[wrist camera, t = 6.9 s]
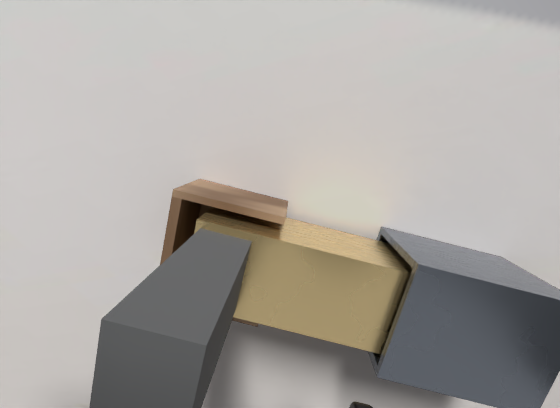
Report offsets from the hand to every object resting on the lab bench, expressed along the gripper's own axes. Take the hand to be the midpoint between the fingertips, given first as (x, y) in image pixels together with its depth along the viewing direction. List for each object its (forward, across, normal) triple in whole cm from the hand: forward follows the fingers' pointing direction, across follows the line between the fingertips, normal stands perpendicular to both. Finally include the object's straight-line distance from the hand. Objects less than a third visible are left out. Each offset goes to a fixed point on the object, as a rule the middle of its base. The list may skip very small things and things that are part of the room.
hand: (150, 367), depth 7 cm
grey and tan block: (+9, -4, 0) cm, 9 cm away
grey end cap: (+9, -10, 0) cm, 14 cm away
